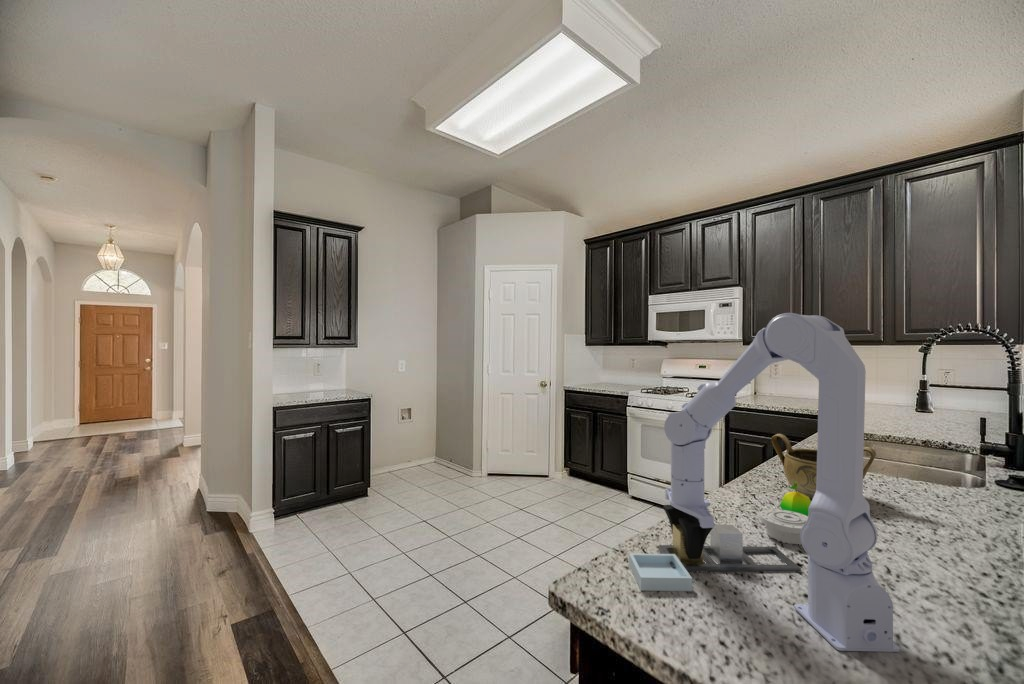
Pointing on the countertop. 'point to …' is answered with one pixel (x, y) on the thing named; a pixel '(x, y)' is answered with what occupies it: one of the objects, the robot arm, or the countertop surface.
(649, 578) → the parts tray
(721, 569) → the rail
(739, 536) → the grey block
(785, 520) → the mechanical component
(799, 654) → the countertop surface
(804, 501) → the apple
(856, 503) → the robot arm
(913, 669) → the countertop surface
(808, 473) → the ceramic bowl
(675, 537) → the tan wooden post
